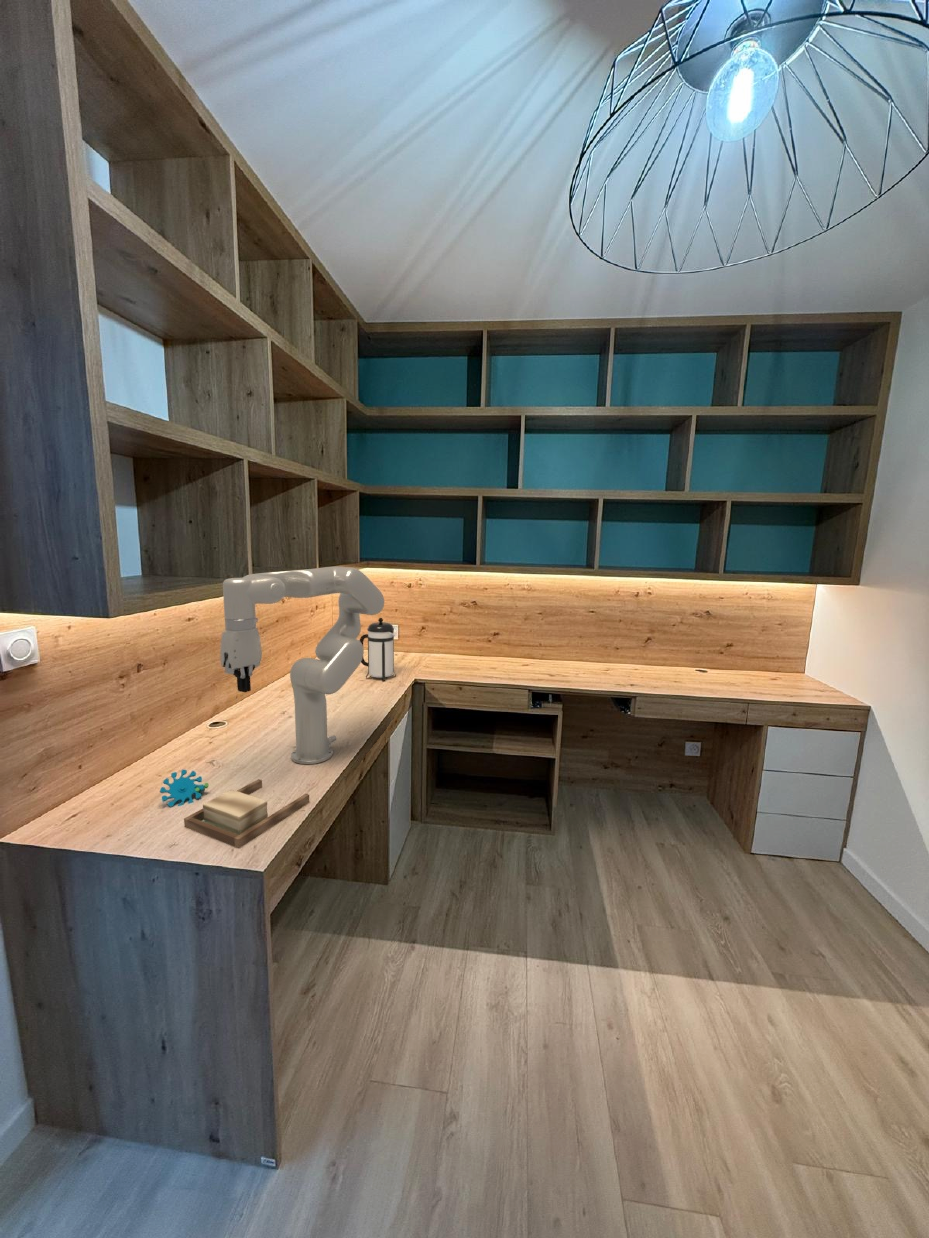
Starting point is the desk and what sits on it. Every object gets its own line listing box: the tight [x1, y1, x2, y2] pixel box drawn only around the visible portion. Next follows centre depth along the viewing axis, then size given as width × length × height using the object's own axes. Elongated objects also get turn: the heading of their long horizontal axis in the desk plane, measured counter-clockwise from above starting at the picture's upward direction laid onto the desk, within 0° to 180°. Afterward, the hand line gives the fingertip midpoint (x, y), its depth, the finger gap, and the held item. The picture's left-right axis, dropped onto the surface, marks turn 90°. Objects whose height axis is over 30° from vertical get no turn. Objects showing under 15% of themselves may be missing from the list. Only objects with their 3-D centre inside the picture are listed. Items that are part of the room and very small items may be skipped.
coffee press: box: [359, 617, 397, 682], centre depth 247 cm, size 17×16×30 cm
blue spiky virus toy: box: [159, 769, 210, 808], centre depth 132 cm, size 11×6×10 cm
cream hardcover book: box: [202, 789, 269, 835], centre depth 121 cm, size 8×12×5 cm
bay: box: [183, 778, 310, 849], centre depth 125 cm, size 22×18×3 cm
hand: (244, 690), depth 137 cm, fingers closed
